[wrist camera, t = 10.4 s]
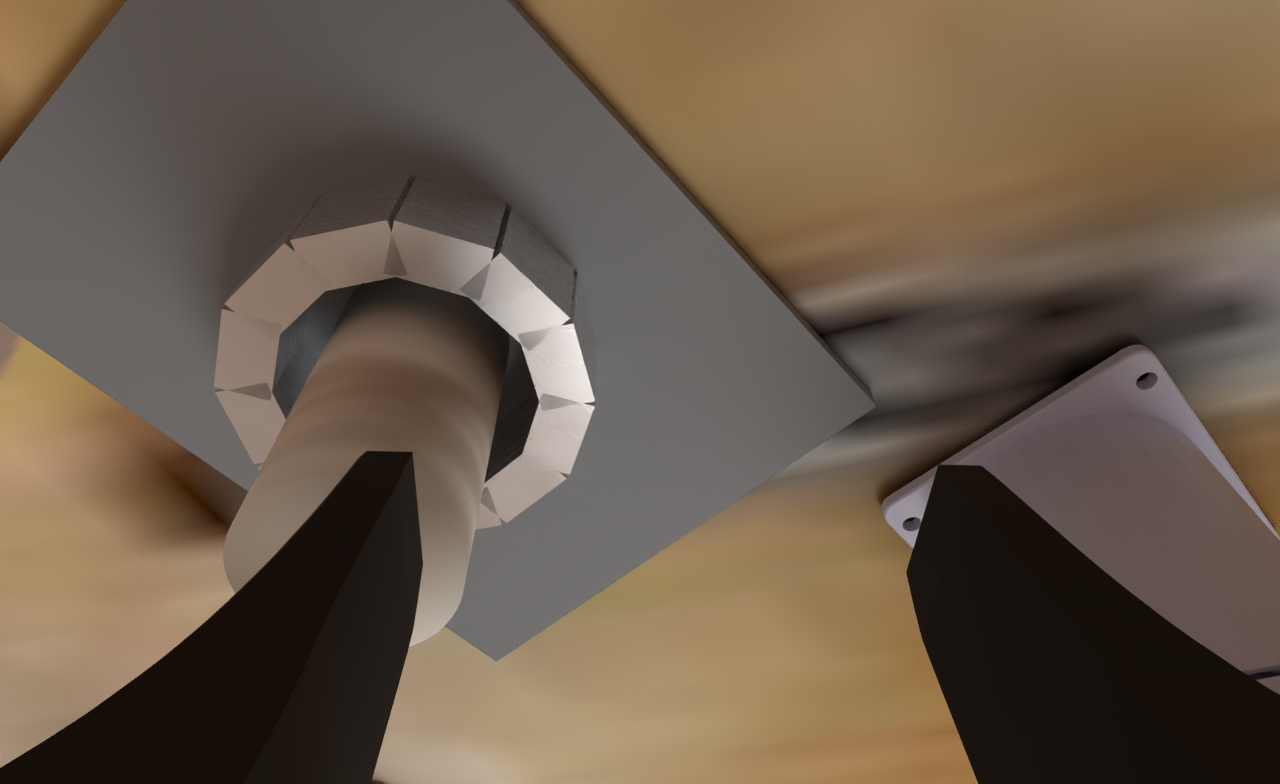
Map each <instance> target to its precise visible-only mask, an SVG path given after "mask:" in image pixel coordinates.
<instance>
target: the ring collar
mask: <svg viewBox="0 0 1280 784" xmlns="http://www.w3.org/2000/svg"><path fill="white" fill-rule="evenodd" d="M506 203H507V202H504V201H500V200H497V199H494V198H490V197H487V196H484V195H480V194H477V193H474V192H470V191H467V190H464V189H460V188H457V187H454V186H450V185H447V184H444V183H440V182H437V181H433V180H430V179H427V178H423V177H420V176H416V178H415V180H414V182H413V181H412V178H411V175H409V176H405V177H400V178H395V179H390V180H386V181H381V182H376V183H371V184H367V185H362V186H357V187H352V188H348V189H343V190H338V191H333V192H329V193H324V194H323V195H322V196H321V198H319V197H317V198H316V199H315V200H314V201H313V202H312V203H311V204H310V205H309V206H308V207H307V208H306V209H305V210H304V211H303V212H302V213H301V214H300V215H299V216H298V217H297V218H296V219H295V220H294V221H293V222H292V223H291V224H290V225H289V226H288V228H287V229H286V230H285V231H284V232H283V233H282V234H281V235H280V236H279V237H278V238H277V239H276V240H275V241H274V242H273V243H272V244H271V245H270V246H269V247H268V248H267V249H266V250H265V251H264V252H263V253H262V254H261V256H260V257H259V258H258V260H257V261H256V262H255V264H254V265H253V266H252V268H251V269H250V270H249V272H248V273H247V274H246V276H245V277H244V278H243V280H242V281H241V282H240V284H239V285H238V286H237V287H236V289H235V290H234V291H233V293H232V294H231V295H230V297H229V298H228V299H227V301H226V302H225V303H224V304H225V305H224V307H223V308H222V312H221V322H220V332H219V341H218V351H217V361H216V370H215V380H214V387H216V388H217V390H216V392H215V393H216V395H217V397H218V399H219V401H220V403H221V404H222V406H223V408H224V410H225V412H226V414H227V415H228V417H229V419H230V421H231V423H232V425H233V426H234V428H235V430H236V432H237V434H238V436H239V438H240V439H241V441H242V443H243V445H244V447H245V449H246V450H247V452H248V454H249V456H250V458H251V460H252V461H253V463H254V464H257V463H260V465H259V467H258V469H259V470H260V469H261V467H262V465H263V463H264V461H265V459H266V458H267V456H268V454H269V452H270V450H271V448H272V446H273V444H274V442H275V440H276V438H277V437H278V435H279V433H280V431H281V429H282V427H283V425H284V423H285V421H286V419H287V417H288V415H289V414H290V412H291V410H292V408H293V406H294V404H295V402H296V400H297V398H298V396H299V394H300V392H301V391H302V389H303V387H304V385H305V383H306V381H307V379H308V377H309V375H310V373H311V371H312V370H313V368H314V366H315V364H316V360H315V358H314V356H313V354H312V351H311V349H310V347H309V345H308V343H307V341H306V338H305V336H304V332H305V326H306V319H307V313H308V307H309V306H310V305H311V304H312V303H313V302H314V301H315V300H316V299H318V298H319V297H320V296H321V295H322V294H323V293H324V292H325V291H328V290H333V289H338V288H343V287H348V286H353V285H358V284H363V283H368V282H373V281H378V280H383V279H388V278H393V277H397V278H401V279H405V280H408V281H412V282H415V283H419V284H423V285H426V286H430V287H433V288H437V289H441V290H444V291H448V292H451V293H455V294H459V295H462V296H466V297H469V298H470V299H471V300H472V301H473V302H475V303H476V304H477V305H478V306H479V307H480V308H481V309H482V310H483V311H485V312H486V313H487V314H488V315H489V316H490V317H491V318H492V319H494V320H495V321H496V322H497V323H498V324H499V325H500V326H501V327H502V328H504V329H505V330H506V331H507V332H508V333H509V334H510V335H511V336H513V337H514V338H515V339H516V340H517V341H518V342H519V343H520V344H521V346H522V349H523V352H524V355H525V358H526V361H527V364H528V367H529V371H530V374H531V377H532V380H533V383H534V386H533V389H532V392H531V394H530V395H529V396H528V397H527V398H525V399H524V400H523V401H522V402H520V403H519V404H518V405H517V406H515V407H514V408H513V409H512V410H510V411H509V412H508V413H507V414H505V415H504V416H503V417H502V418H500V419H499V420H498V421H497V422H496V424H495V429H494V435H493V440H492V445H491V450H490V455H489V461H488V466H487V471H486V476H485V481H484V487H483V492H482V497H481V502H480V507H479V513H478V518H477V523H476V528H475V530H476V529H482V528H488V527H494V526H499V525H502V521H503V520H504V521H505V522H506V523H508V522H509V521H510V520H512V519H513V518H514V517H516V516H517V515H518V514H520V513H521V512H522V511H524V510H525V509H526V508H528V507H529V506H531V505H532V504H533V503H535V502H536V501H537V500H539V499H540V498H541V497H543V496H544V495H545V494H547V493H548V492H549V491H551V490H552V489H553V488H555V487H556V486H558V485H559V484H560V483H562V482H563V481H564V480H566V479H567V474H569V475H570V473H571V470H572V467H573V465H574V462H575V459H576V457H577V454H578V451H579V448H580V446H581V443H582V440H583V437H584V435H585V432H586V429H587V427H588V424H589V421H590V418H591V416H592V413H593V410H594V407H595V389H596V360H597V342H596V339H595V335H594V331H593V327H592V324H591V320H590V316H589V312H588V309H587V305H586V301H585V297H584V294H583V290H582V286H581V282H580V279H579V275H578V271H577V272H574V268H575V266H574V265H573V264H572V263H571V262H570V261H569V260H568V259H566V258H565V257H564V256H563V255H562V254H561V253H560V252H559V251H558V250H557V249H556V248H555V247H554V246H553V245H552V244H551V243H550V242H549V241H548V240H547V239H546V238H545V237H544V236H543V235H542V234H541V233H540V232H539V231H538V230H537V229H536V228H535V227H534V226H533V225H532V224H531V223H530V222H529V221H527V220H526V219H525V218H524V217H523V216H522V215H521V214H520V213H519V212H518V211H517V210H516V209H515V208H514V207H513V206H511V207H510V208H509V209H508V210H507V211H506V212H505V213H504V211H505V207H506Z"/></svg>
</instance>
